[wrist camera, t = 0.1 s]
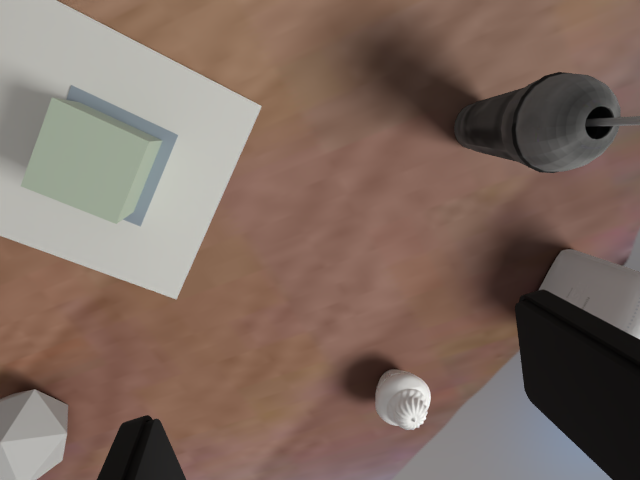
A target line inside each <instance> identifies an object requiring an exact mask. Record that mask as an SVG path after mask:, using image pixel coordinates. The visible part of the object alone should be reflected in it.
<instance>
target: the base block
mask: <svg viewBox="0 0 640 480" xmlns="http://www.w3.org/2000/svg"><path fill="white" fill-rule="evenodd" d="M162 141H163V140H160V139H158V138H156V137H154V136H152V135H150V134H147V133H145V132H143V131H141V130H139V129H137V128H134V127H132V126H130V125H128V124H126V123H124V122H121V121H119V120H117V119H115V118H113V117H111V116H108V115H106V114H104V113H102V112H100V111H98V110H95V109H93V108H91V107H89V106H87V105H84V104H82V103H80V102H75V101H70V100H64V99H59V98H53V97H52V99H51V102H50V104H49V107H48V110H47V113H46V116H45V119H44V121H43V124H42V127H41V130H40V133H39V136H38V138H37V141H36V144H35V147H34V150H33V152H32V155H31V158H30V161H29V164H28V167H27V169H26V172H25V175H24V178H23V181H22V184H21V187H24V188H26V189H29V190H31V191H34V192H36V193H39V194H42V195H44V196H47V197H49V198H52V199H54V200H57V201H59V202H62V203H64V204H67V205H69V206H72V207H74V208H77V209H80V210H82V211H85V212H87V213H90V214H92V215H95V216H97V217H100V218H102V219H105V220H107V221H110V222H112V223H115V224H117V223H118V222H120V221H121V220H123V219H124V218H126V217H127V216H129V215H130V214H132V213H133V212H134V210H135V207H136V205H137V202H138V200H139V197H140V195H141V193H142V190H143V188H144V185H145V183H146V180H147V178H148V175H149V173H150V170H151V168H152V166H153V163H154V161H155V158H156V156H157V153H158V151H159V148H160V146H161V143H162Z"/></svg>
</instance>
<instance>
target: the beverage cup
mask: <svg viewBox="0 0 640 480" xmlns="http://www.w3.org/2000/svg"><path fill="white" fill-rule="evenodd" d="M625 125H640V116H636V117H620V106H619V104H618V101H617V98H616V96H615V95H614V93H613V92H612V91H611V90H610V88H609V87H608V86H607V85H606V84H604V83H603V82H601V81H599V80H597V79H595V78H593V77H591V76H588V75H581V74H572V73H562V72H558V73H554V74H550V75H547V76H544V77H543V78H541V79H540V80H537V81H535V82H533V83H531V84H529V85H528V86H526V87H525V88H522V89H518V90H515V91H512V92H508V93H505V94H502V95H498V96H495V97H492V98H488V99H485V100H482V101H478V102H476V103H474V104H471V105H468V106H467V107H465V108H464V109H462V111H461V112H460V113H459V114H458V116H457V119H456V121H455V127H454V131H455V136H456V138H457V140H458V142H459V143H460V144H461V145H462V146H463V147H466V148H468V149H472V150H474V151H477V152H481V153H485V154H489V155H493V156H497V157H501V158H505V159H509V160H513V161H517V162H520V163H522V164H524V165H526V166H528V167H529V168H532V169H534V170H536V171H538V172H545V173H555V172H559V171H568V170H571V169H575V168H578V167H581V166H584V165H586V164H588V163H589V162H591V161H592V160H594V159H595V158H597V157H598V156H600V155H601V154H602V153H603V152H604V151H605V150H606V149H607V148H608V147H609V145H610V144H611V143H612V142H613V140H614V138H615V136H616V134H617V132H618V129H619V126H625Z"/></svg>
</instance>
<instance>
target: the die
mask: <svg viewBox="0 0 640 480" xmlns="http://www.w3.org/2000/svg"><path fill="white" fill-rule="evenodd" d="M67 422H68V405H67V404H65V403H63V402H61V401H59V400H57V399H54V398H52V397H50V396H48V395H46V394H44V393H42V392H40V391H38V390H35V389H34V390H29V391H24V392H19V393H14V394H12V395H9V396H7V397H5V398H2V399H0V480H36V479H38V478H39V477H41V476H42V475H43V474H45V473H46V472H47V471H49V470H50V469H51V468H53V467H54V466H55V465H57V464H58V463H60V462H61V461H62V459H63V454H64V448H65V442H66V437H67Z"/></svg>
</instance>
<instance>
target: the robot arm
mask: <svg viewBox="0 0 640 480" xmlns="http://www.w3.org/2000/svg"><path fill="white" fill-rule="evenodd" d="M515 312H516V321H517V329H518V338H519V346H520V355H521V363H522V372H523V380H524V388H525V392H526V394H527V396H528V398H529V399H530V401H531V402H532V403H533V404H534V405H535V406H536V407H537V408H538V409H539V410H540V411H541V412H542V413H543V414H544V415H545V416H546V417H547V418H549V419H550V420H551V421H552V422H553V423H554V424H555V425H556V426H557V427H558V428H559V429H560V430H561V431H562V432H563V433H564V434H565V435H566V436H567V437H568V438H570V439H571V440H572V441H573V442H574V443H575V444H576V445H577V446H578V447H579V448H580V449H581V450H582V451H583V452H584V453H586V455H587V456H589V458H591V459H592V460H593V461H594V462H595V463H596V464H597V465H598V466H599V467H600V468H601V469H602V470H603V471H604V472H605V473H606V474H607V475H608V476H610V478H612V479H613V480H640V339H638V338H636V337H634V336H632V335H630V334H628V333H626V332H625V331H623V330H621V329H619V328H617V327H615V326H613V325H611V324H609V323H608V322H606V321H604V320H602V319H600V318H598V317H596V316H594V315H592V314H590V313H589V312H587V311H585V310H583V309H581V308H579V307H577V306H575V305H573V304H571V303H570V302H568V301H566V300H564V299H562V298H560V297H558V296H556V295H554V294H553V293H551V292H549V291H547V290H544V289H542V290H538V291H535V292H532V293H529V294H526V295H522V296H521V297H520V300H519V303H517V304H516V306H515ZM97 480H186V478H185V476H184V474H183V471H182V469H181V467H180V464H179V462H178V460H177V458H176V455H175V453H174V451H173V449H172V446H171V444H170V442H169V439H168V437H167V435H166V433H165V430H164V428H163V426H162V424H161V422H160V420H159V419H154V420H152V418H151V417H150V416H148V415H146V416H143V417H140V418H137V419H134V420H130V421H127V422H124V423H123V424H122V425H121V426H120V428H119V431H118V433H117V435H116V437H115V440H114V442H113V444H112V447H111V449H110V451H109V453H108V456H107V458H106V460H105V463H104V465H103V467H102V469H101V472H100V474H99V476H98V478H97Z"/></svg>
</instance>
